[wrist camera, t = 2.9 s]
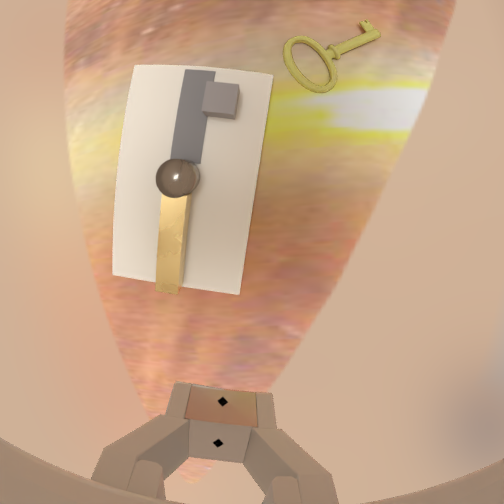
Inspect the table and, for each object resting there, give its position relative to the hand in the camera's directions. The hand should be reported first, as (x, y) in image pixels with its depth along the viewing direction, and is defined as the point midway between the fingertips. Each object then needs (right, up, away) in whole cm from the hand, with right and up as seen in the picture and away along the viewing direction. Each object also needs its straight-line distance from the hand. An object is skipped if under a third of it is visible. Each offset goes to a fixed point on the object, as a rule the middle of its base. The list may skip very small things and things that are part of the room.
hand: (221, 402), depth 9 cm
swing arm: (-7, +8, +23) cm, 25 cm away
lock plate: (-6, +13, +23) cm, 27 cm away
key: (+10, +27, +20) cm, 35 cm away
